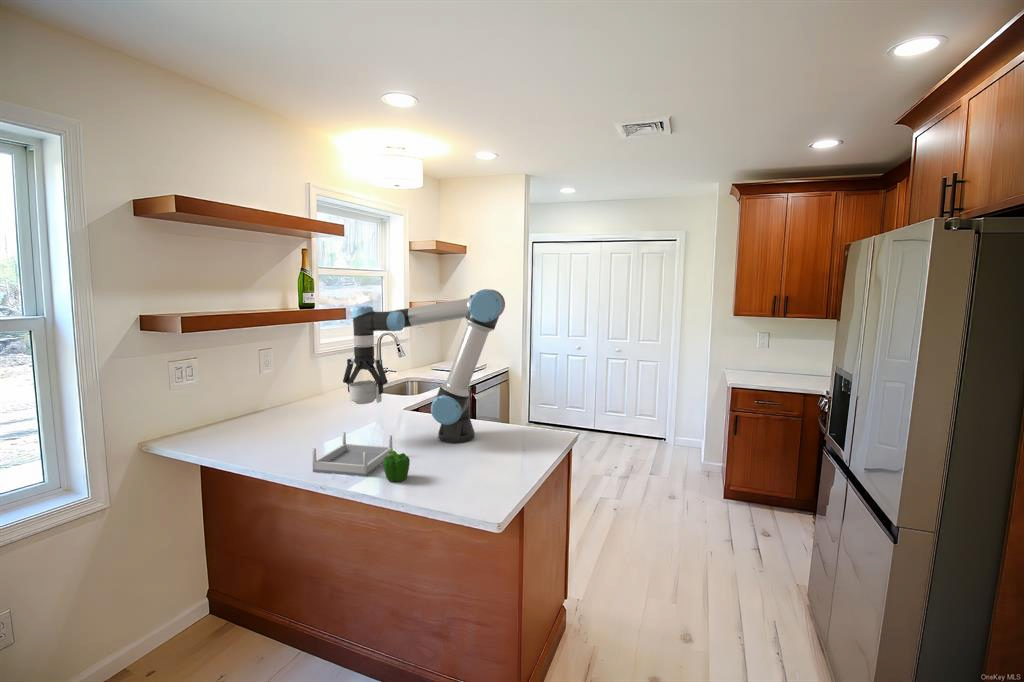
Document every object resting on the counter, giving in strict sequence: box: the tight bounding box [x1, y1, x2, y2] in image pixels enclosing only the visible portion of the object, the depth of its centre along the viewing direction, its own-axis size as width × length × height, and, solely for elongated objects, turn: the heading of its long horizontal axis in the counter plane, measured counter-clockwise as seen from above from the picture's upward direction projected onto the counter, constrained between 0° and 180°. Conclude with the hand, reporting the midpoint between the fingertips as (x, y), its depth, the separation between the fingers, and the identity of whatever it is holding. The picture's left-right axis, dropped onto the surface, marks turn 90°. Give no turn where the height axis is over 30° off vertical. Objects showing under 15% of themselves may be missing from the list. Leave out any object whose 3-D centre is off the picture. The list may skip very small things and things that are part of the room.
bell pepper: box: [383, 450, 411, 482], centre depth 163 cm, size 8×8×10 cm
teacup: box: [349, 379, 378, 405], centre depth 196 cm, size 14×11×8 cm
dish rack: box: [311, 431, 394, 477], centre depth 177 cm, size 20×20×8 cm
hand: (365, 401), depth 196 cm, fingers closed on teacup, 11 cm apart
